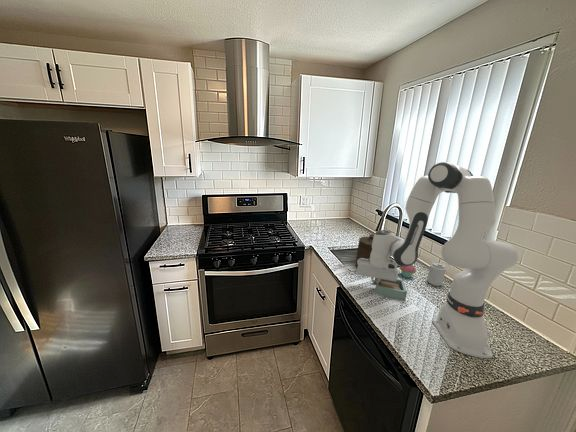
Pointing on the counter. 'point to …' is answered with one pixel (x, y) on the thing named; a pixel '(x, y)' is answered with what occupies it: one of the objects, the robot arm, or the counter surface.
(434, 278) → the grey lidded jar
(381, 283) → the brown block
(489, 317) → the counter surface
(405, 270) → the cupcake
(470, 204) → the robot arm
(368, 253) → the wooden container
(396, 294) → the tray
